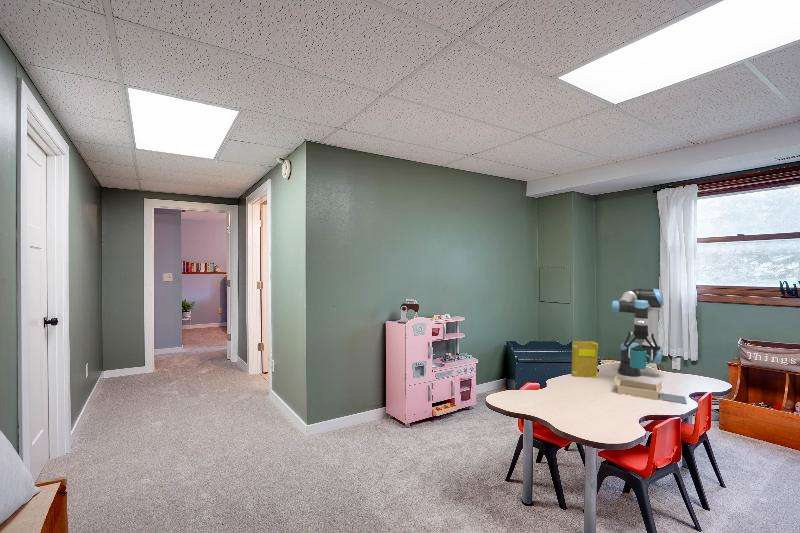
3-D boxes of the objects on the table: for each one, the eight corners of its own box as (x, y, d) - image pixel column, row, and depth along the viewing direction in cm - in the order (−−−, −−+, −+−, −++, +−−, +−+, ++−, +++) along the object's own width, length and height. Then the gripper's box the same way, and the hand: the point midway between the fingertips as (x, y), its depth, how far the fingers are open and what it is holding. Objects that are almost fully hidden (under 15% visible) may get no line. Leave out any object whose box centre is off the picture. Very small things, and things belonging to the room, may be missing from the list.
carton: (615, 386, 270) (615, 374, 269) (661, 393, 256) (661, 380, 256) (613, 393, 255) (614, 380, 255) (662, 400, 241) (662, 387, 241)
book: (594, 375, 296) (594, 341, 296) (597, 377, 290) (598, 343, 290) (570, 374, 298) (570, 340, 298) (573, 376, 291) (573, 342, 291)
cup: (649, 371, 247) (649, 352, 247) (627, 367, 256) (628, 349, 256) (653, 368, 253) (653, 350, 253) (632, 364, 262) (632, 347, 262)
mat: (661, 393, 255) (661, 393, 255) (684, 397, 248) (684, 396, 248) (662, 400, 242) (662, 399, 242) (686, 404, 236) (686, 403, 236)
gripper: (619, 323, 258) (618, 357, 258) (663, 327, 245) (663, 362, 245) (620, 322, 264) (619, 355, 264) (663, 325, 251) (662, 360, 251)
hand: (640, 358), depth 254 cm, fingers closed on cup, 12 cm apart
